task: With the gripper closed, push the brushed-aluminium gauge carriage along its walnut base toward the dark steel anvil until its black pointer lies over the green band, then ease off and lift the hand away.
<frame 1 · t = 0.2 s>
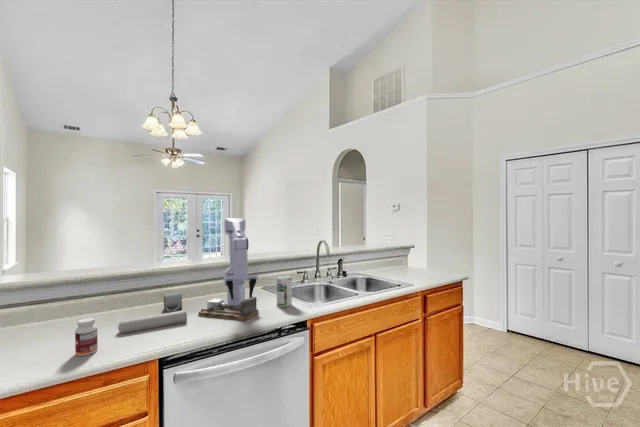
hand: (241, 298, 141), 11 cm above the worktop, tool pointing down, fingers open, 7 cm apart
tube: (153, 328, 136), on the worktop
gauge base: (228, 314, 153), on the worktop
syrup box: (284, 306, 167), on the worktop
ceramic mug: (173, 309, 161), on the worktop
pill bottle: (86, 353, 112), on the worktop
gauge carriage: (216, 305, 153), point 4 cm above the worktop, slide at 0.0 cm
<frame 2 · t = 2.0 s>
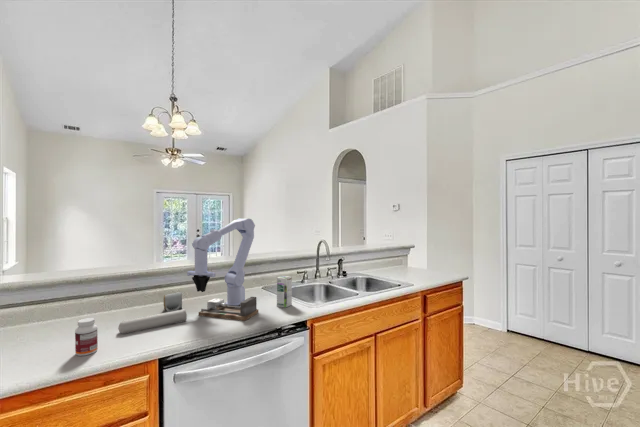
hand: (201, 291, 157), 9 cm above the worktop, tool pointing down, fingers closed
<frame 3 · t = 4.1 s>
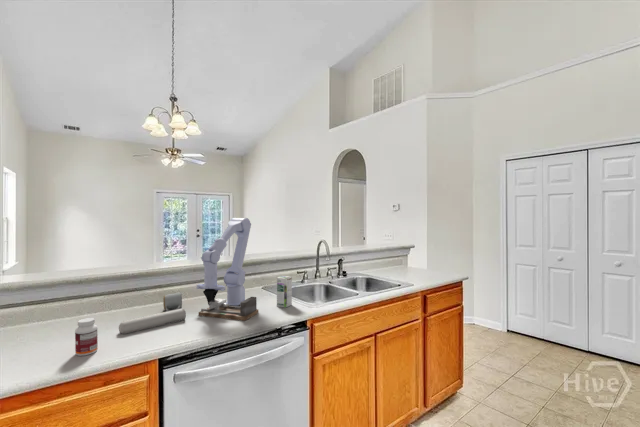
hand: (210, 304, 156), 3 cm above the worktop, tool pointing down, fingers closed
gauge carriage: (218, 305, 153), point 4 cm above the worktop, slide at 1.1 cm, touching gripper
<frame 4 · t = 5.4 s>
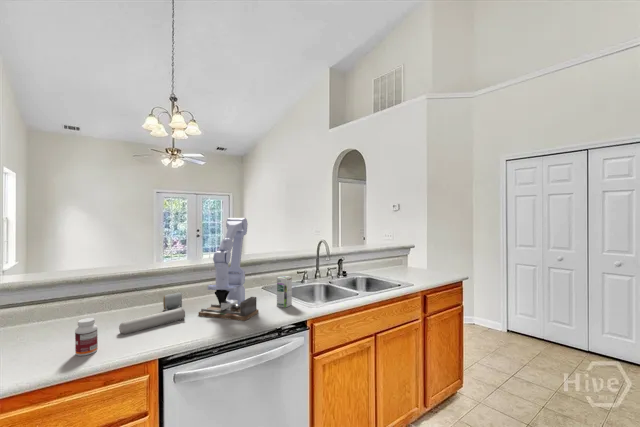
hand: (222, 306, 154), 3 cm above the worktop, tool pointing down, fingers closed
gauge carriage: (230, 307, 151), point 4 cm above the worktop, slide at 7.3 cm, touching gripper
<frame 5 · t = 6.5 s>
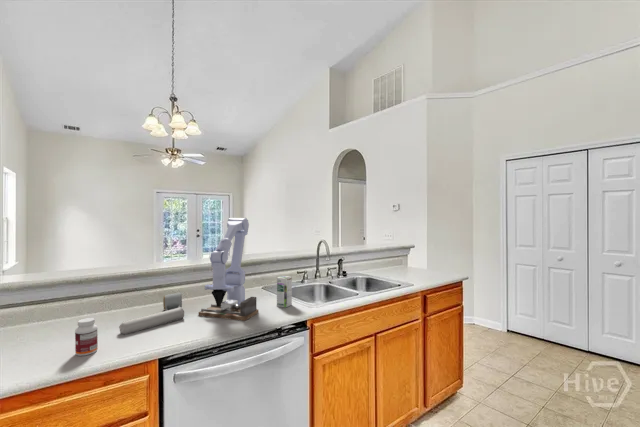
hand: (219, 305, 155), 3 cm above the worktop, tool pointing down, fingers closed
gauge carriage: (230, 307, 151), point 4 cm above the worktop, slide at 7.3 cm
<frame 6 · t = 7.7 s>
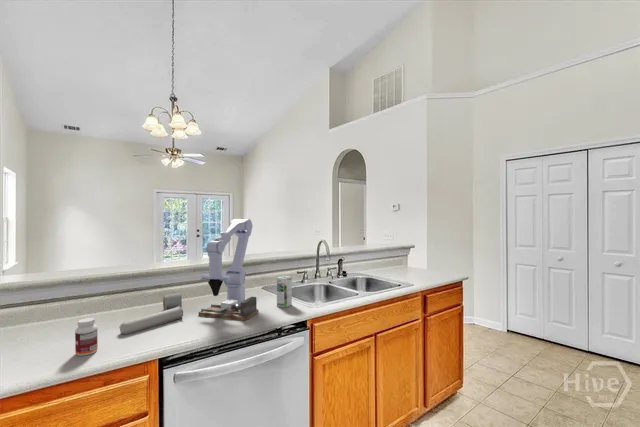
hand: (215, 295, 155), 8 cm above the worktop, tool pointing down, fingers closed
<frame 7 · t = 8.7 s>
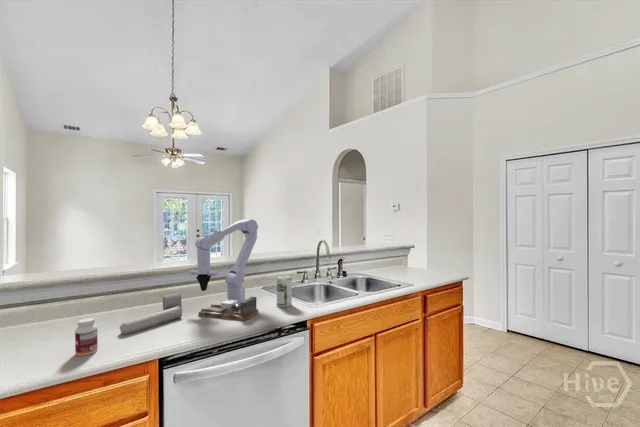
hand: (203, 290, 159), 9 cm above the worktop, tool pointing down, fingers closed
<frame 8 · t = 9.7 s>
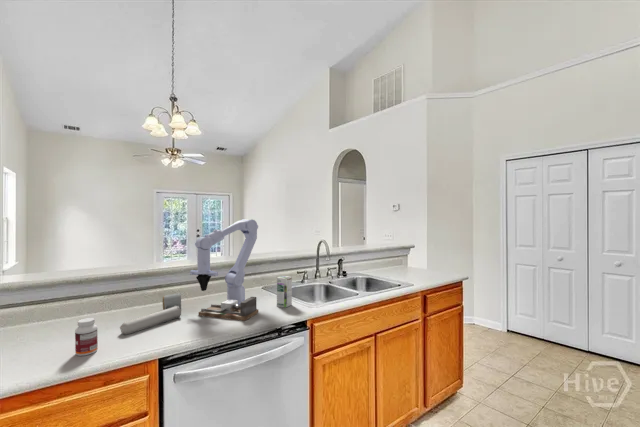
hand: (203, 290, 159), 9 cm above the worktop, tool pointing down, fingers closed
at the end: gauge carriage slide at 7.3 cm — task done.
